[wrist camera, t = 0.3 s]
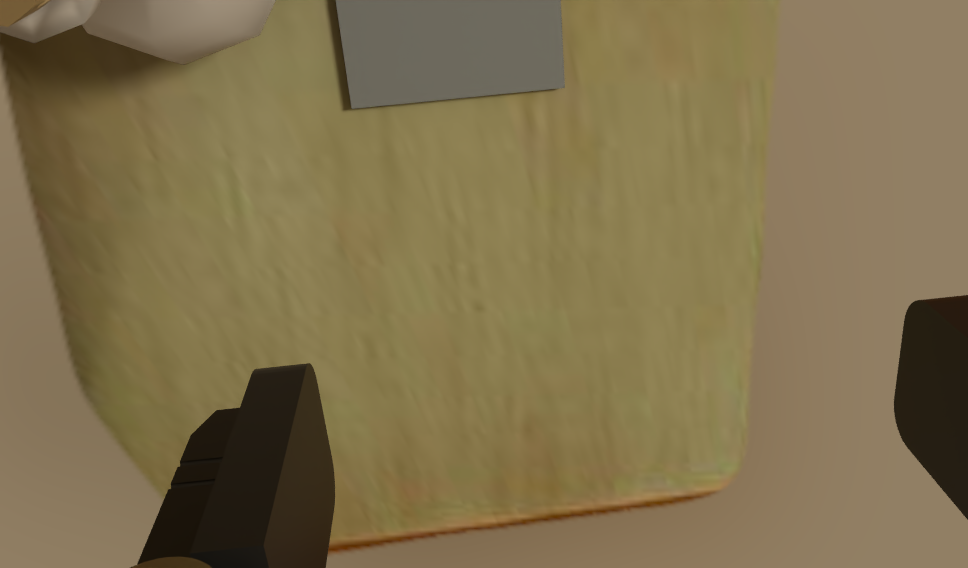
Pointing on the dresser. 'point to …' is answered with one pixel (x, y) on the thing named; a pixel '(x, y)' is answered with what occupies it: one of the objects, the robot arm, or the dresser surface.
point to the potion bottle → (142, 23)
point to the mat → (449, 48)
